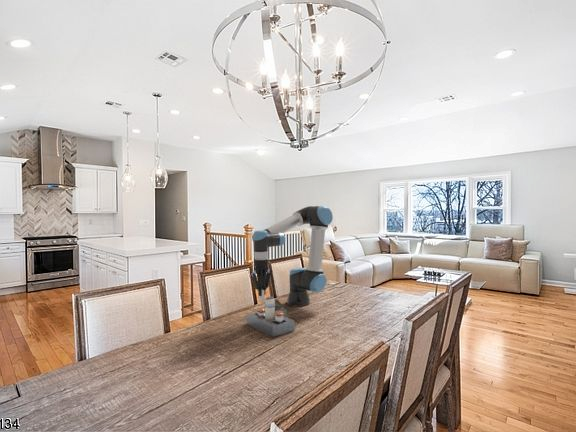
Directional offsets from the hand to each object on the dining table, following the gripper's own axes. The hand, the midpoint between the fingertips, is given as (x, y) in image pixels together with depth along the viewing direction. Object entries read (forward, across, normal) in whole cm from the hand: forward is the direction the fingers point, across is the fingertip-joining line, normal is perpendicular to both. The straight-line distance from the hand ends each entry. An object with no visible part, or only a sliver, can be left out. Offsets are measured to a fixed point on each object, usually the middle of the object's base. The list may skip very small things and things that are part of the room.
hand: (262, 301), depth 176 cm
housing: (+12, +1, +8) cm, 14 cm away
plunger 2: (+9, +1, +16) cm, 18 cm away
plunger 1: (+11, +1, 0) cm, 11 cm away
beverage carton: (+13, -14, -6) cm, 19 cm away
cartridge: (+12, +1, +8) cm, 14 cm away
